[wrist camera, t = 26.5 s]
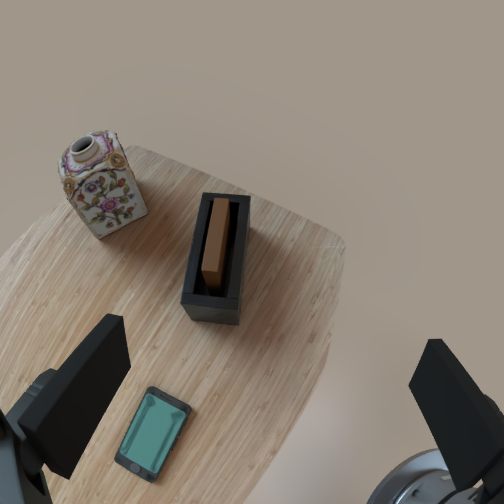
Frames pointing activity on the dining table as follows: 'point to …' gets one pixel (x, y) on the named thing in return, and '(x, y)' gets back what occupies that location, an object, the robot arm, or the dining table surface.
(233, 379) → the dining table surface
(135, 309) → the dining table surface
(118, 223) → the decorative jar
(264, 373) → the dining table surface
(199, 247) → the black open box
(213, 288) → the thin brown wooden plank
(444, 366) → the robot arm
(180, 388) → the dining table surface
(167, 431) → the smartphone
